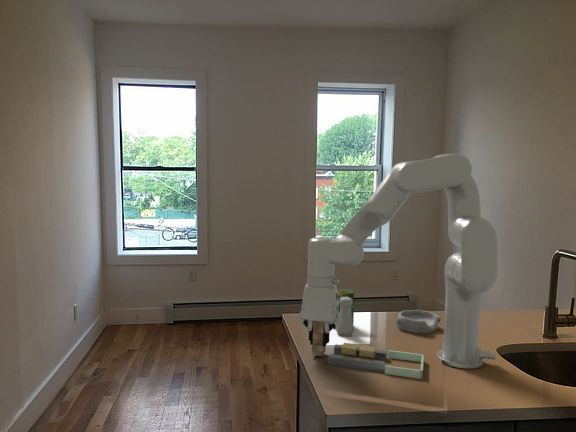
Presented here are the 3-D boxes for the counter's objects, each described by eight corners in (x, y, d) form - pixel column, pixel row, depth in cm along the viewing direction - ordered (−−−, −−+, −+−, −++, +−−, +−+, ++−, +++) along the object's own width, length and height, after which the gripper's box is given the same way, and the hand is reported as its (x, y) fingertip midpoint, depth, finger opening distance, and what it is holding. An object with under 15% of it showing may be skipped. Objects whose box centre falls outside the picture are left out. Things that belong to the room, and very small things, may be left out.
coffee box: (331, 328, 162) (332, 291, 161) (329, 325, 165) (330, 289, 164) (353, 327, 164) (355, 290, 163) (350, 324, 167) (352, 288, 166)
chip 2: (375, 360, 133) (375, 346, 132) (373, 365, 129) (374, 351, 128) (361, 358, 134) (361, 344, 133) (358, 363, 130) (359, 349, 130)
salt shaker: (353, 340, 151) (354, 300, 150) (335, 338, 152) (336, 299, 151) (354, 334, 157) (355, 296, 155) (337, 333, 158) (338, 295, 157)
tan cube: (357, 357, 134) (358, 344, 134) (355, 363, 130) (355, 349, 130) (343, 356, 135) (344, 342, 135) (341, 361, 131) (341, 347, 131)
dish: (442, 327, 167) (443, 313, 167) (431, 338, 155) (432, 323, 155) (402, 319, 175) (403, 306, 174) (389, 329, 163) (389, 315, 163)
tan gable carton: (325, 350, 137) (326, 317, 136) (322, 356, 133) (323, 321, 132) (315, 349, 138) (316, 316, 137) (311, 354, 134) (312, 320, 133)
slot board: (386, 361, 135) (387, 351, 134) (383, 375, 125) (383, 364, 125) (335, 354, 139) (335, 344, 139) (328, 367, 130) (328, 356, 129)
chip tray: (423, 364, 133) (423, 354, 133) (422, 382, 121) (422, 371, 121) (388, 360, 136) (389, 350, 135) (384, 377, 124) (385, 366, 124)
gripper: (351, 281, 135) (349, 343, 136) (296, 276, 139) (295, 336, 141) (346, 286, 127) (344, 352, 129) (289, 281, 132) (287, 345, 134)
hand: (318, 343), depth 135 cm, fingers closed on tan gable carton, 3 cm apart
